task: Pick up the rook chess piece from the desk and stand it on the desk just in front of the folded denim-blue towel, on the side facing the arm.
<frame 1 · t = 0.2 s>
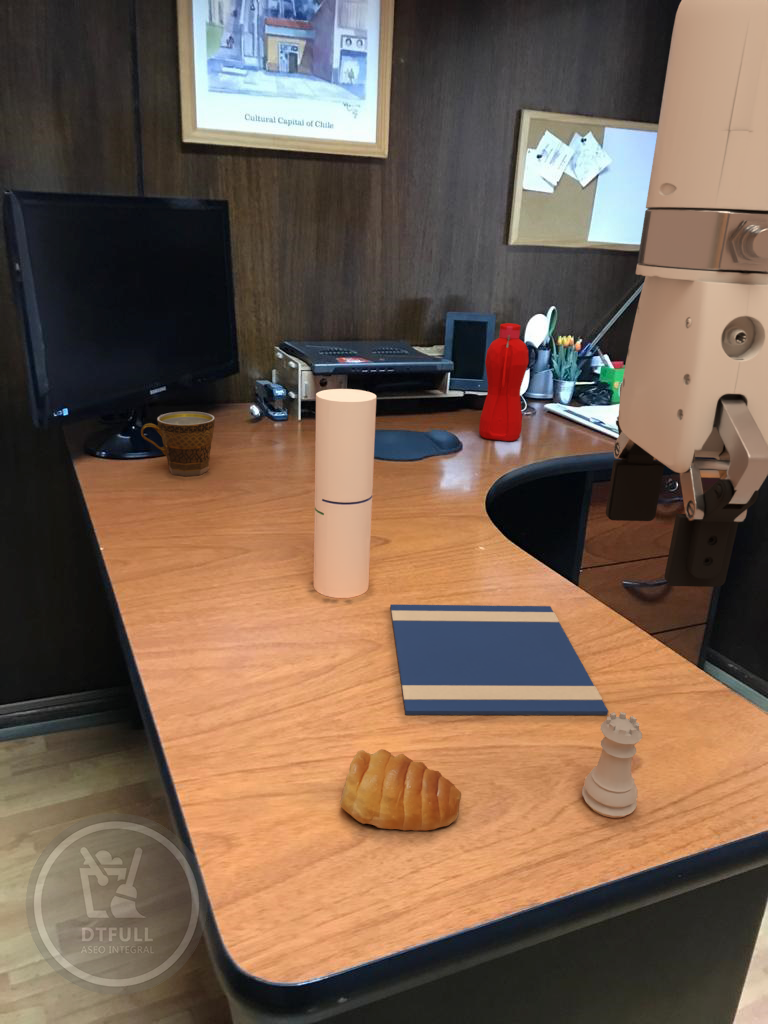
hand: (658, 548, 47), 27 cm above the table, tool pointing down, fingers open, 9 cm apart
cylindrical container: (341, 586, 100), on the table
water bottle: (499, 438, 174), on the table
pastry: (393, 805, 63), on the table
ceramic cup: (180, 472, 141), on the table
towel: (486, 655, 85), on the table
rook chess piece: (608, 803, 64), on the table
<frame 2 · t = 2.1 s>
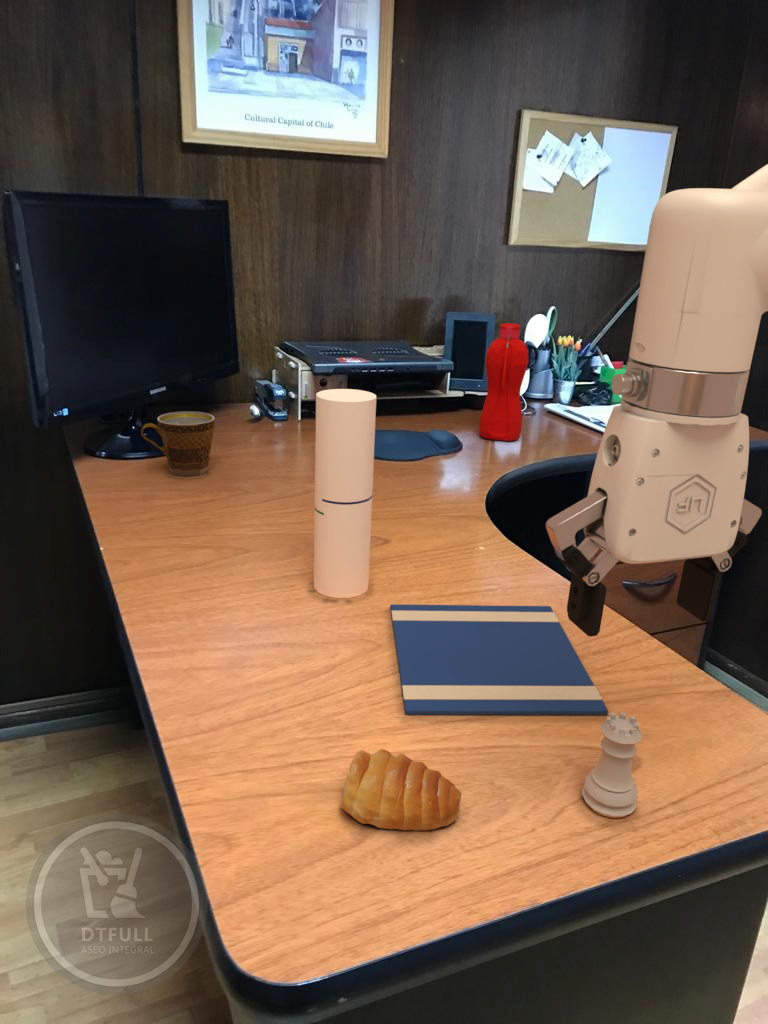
hand: (638, 619, 57), 18 cm above the table, tool pointing down, fingers open, 9 cm apart
nothing on the table moved.
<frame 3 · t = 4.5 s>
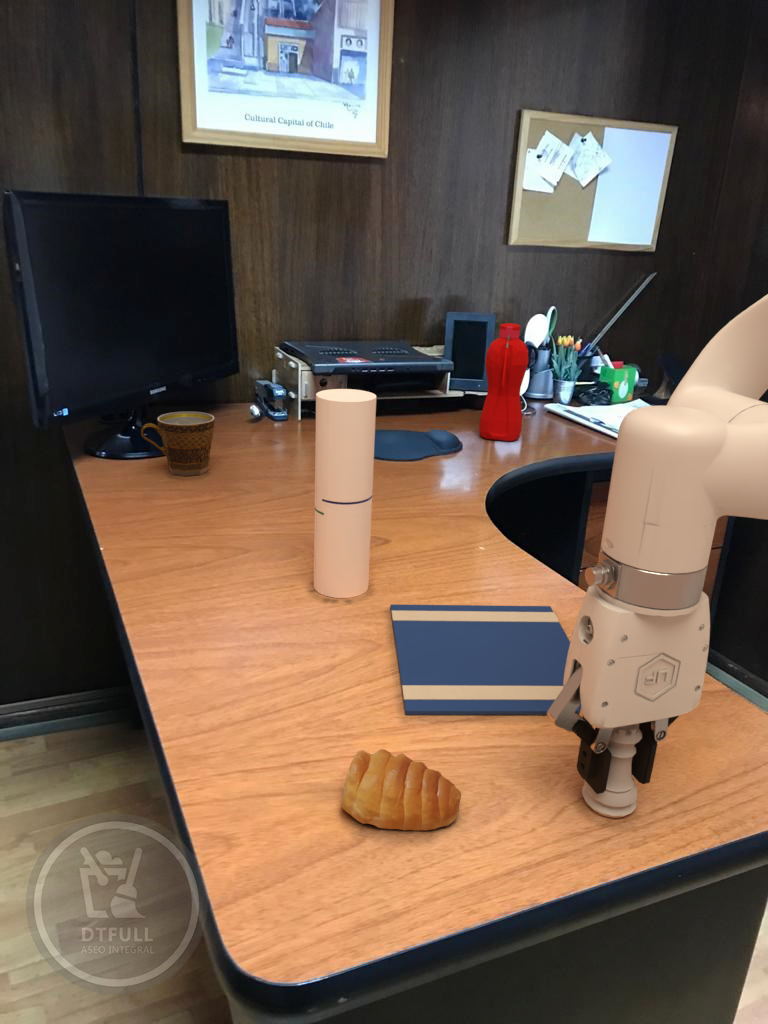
hand: (613, 775, 63), 3 cm above the table, tool pointing down, fingers closed on rook chess piece, 3 cm apart
rook chess piece: (608, 803, 64), on the table, touching gripper
everything else where it was.
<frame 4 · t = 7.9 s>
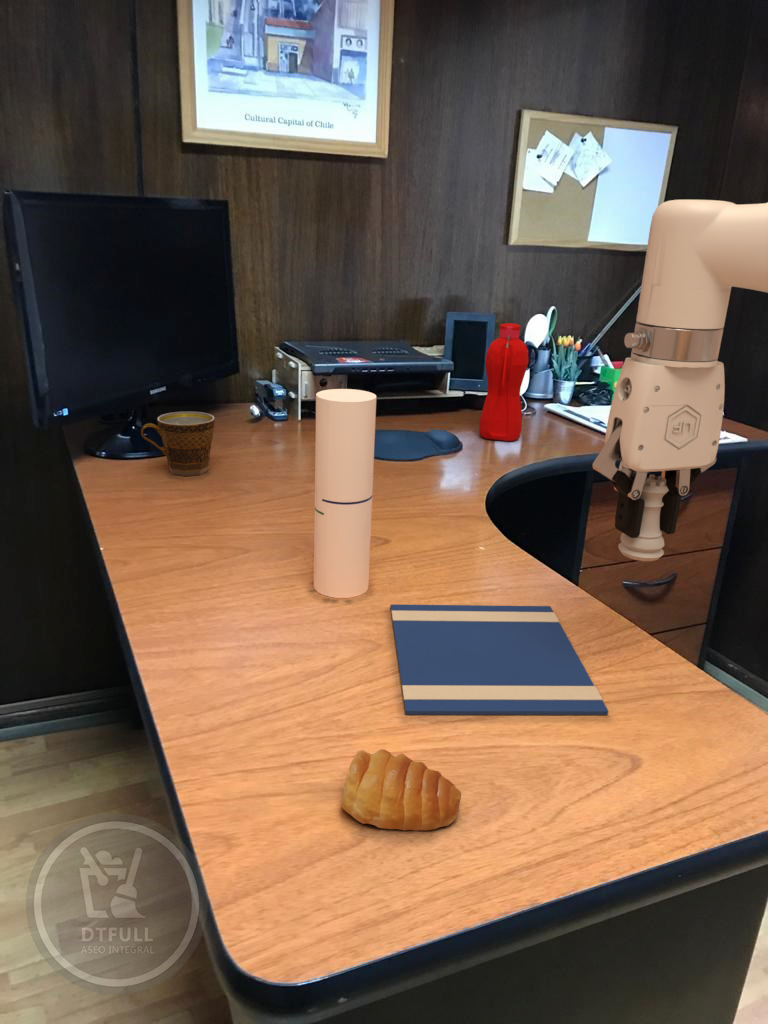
hand: (644, 529, 77), 17 cm above the table, tool pointing down, fingers closed on rook chess piece, 3 cm apart
rook chess piece: (639, 555, 78), point 14 cm above the table, touching gripper
everything else where it was.
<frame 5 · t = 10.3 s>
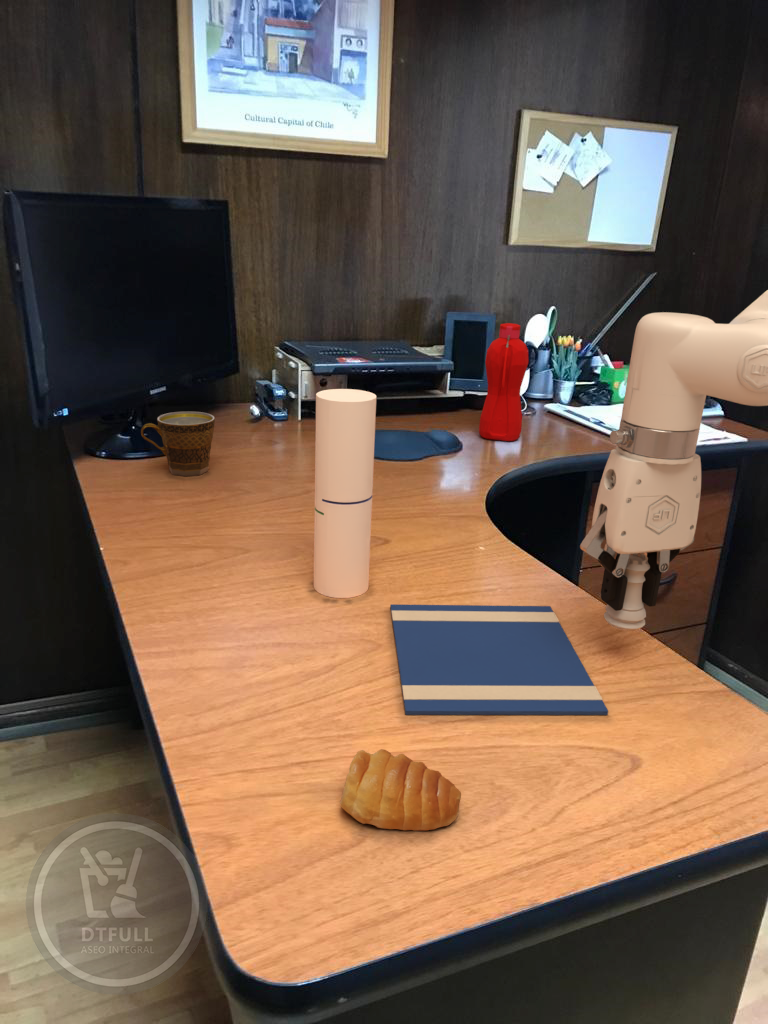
hand: (627, 601, 84), 7 cm above the table, tool pointing down, fingers closed on rook chess piece, 3 cm apart
rook chess piece: (623, 624, 85), point 4 cm above the table, touching gripper
everything else where it was.
when the fingers open (3 cm above the table, at t = 11.7 s): rook chess piece stays where it is, on the table.
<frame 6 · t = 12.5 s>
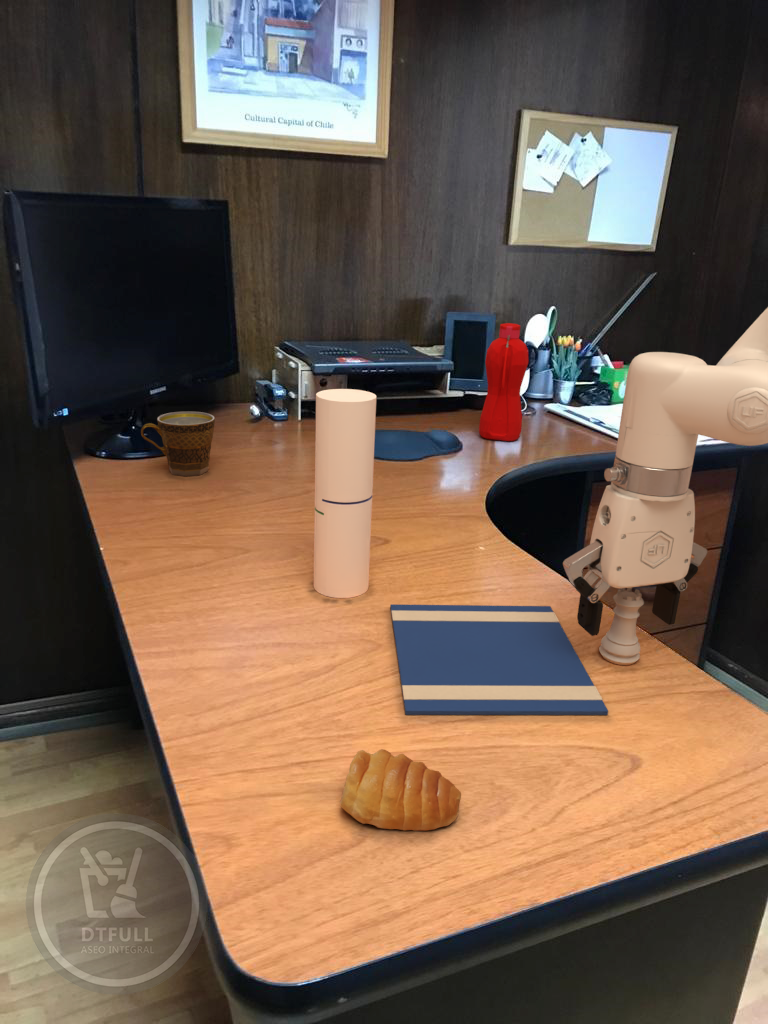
hand: (625, 624, 85), 4 cm above the table, tool pointing down, fingers open, 9 cm apart
rook chess piece: (618, 657, 87), on the table
everything else where it was.
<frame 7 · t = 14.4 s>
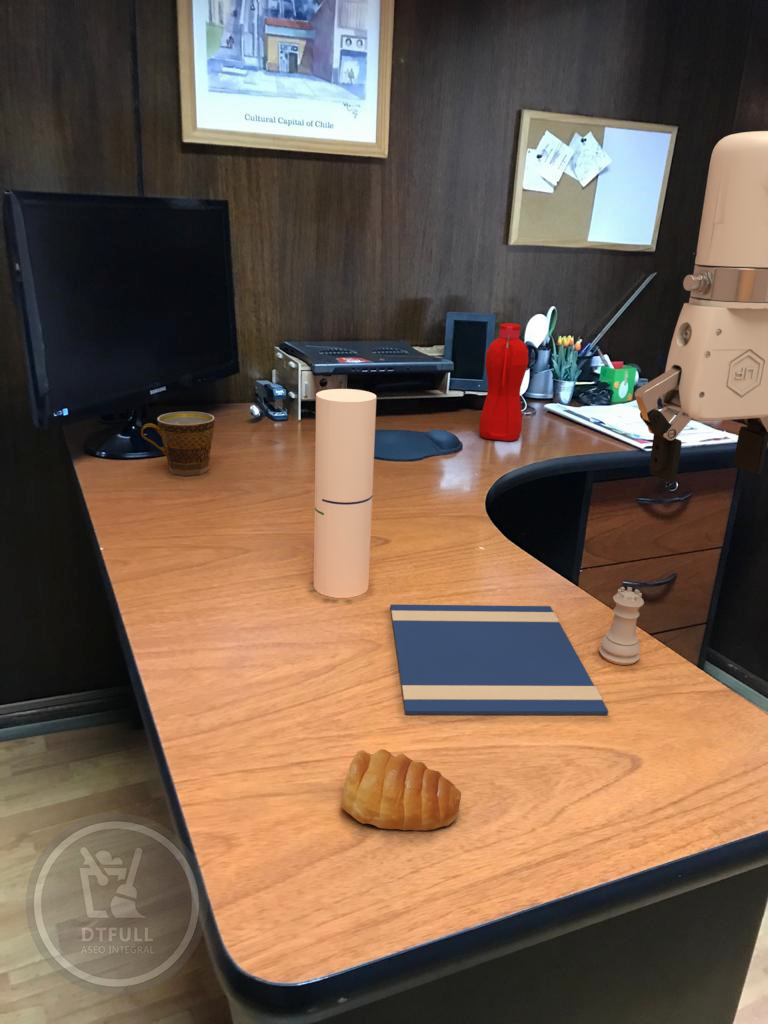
hand: (705, 473, 74), 23 cm above the table, tool pointing down, fingers open, 9 cm apart
nothing on the table moved.
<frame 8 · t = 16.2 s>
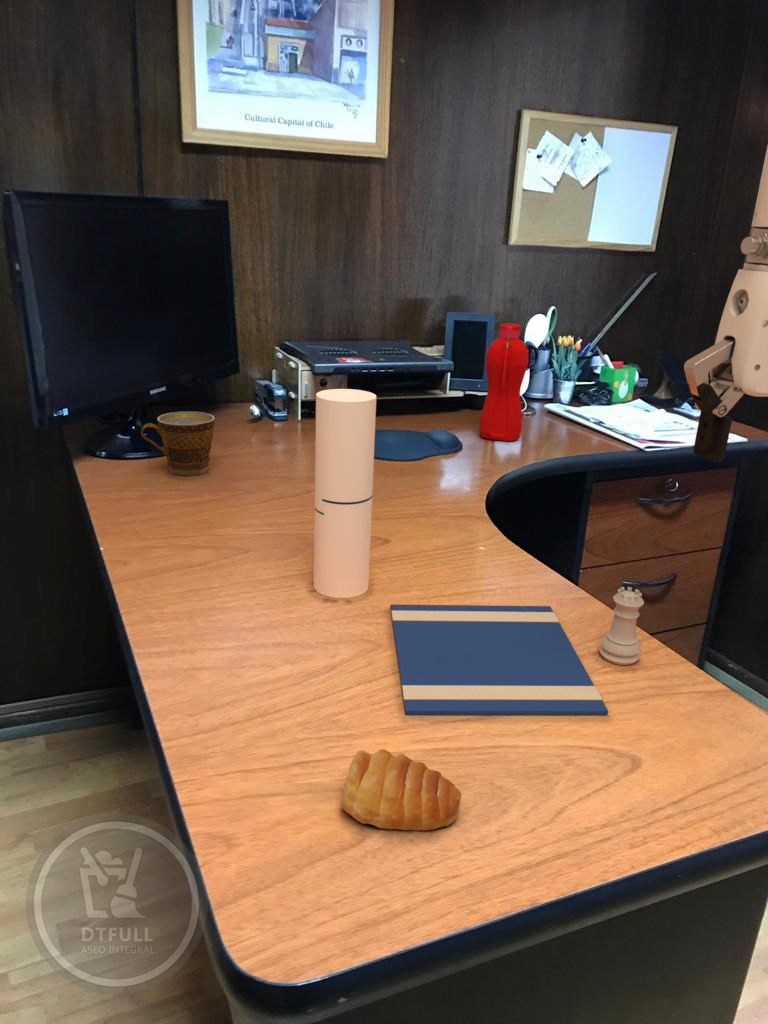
hand: (752, 454, 69), 26 cm above the table, tool pointing down, fingers open, 9 cm apart
nothing on the table moved.
at the end: rook chess piece inside the target area on the table beside the towel (0.3 cm from its centre), on the table; rook chess piece tilted 0°; the gripper is holding nothing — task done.
